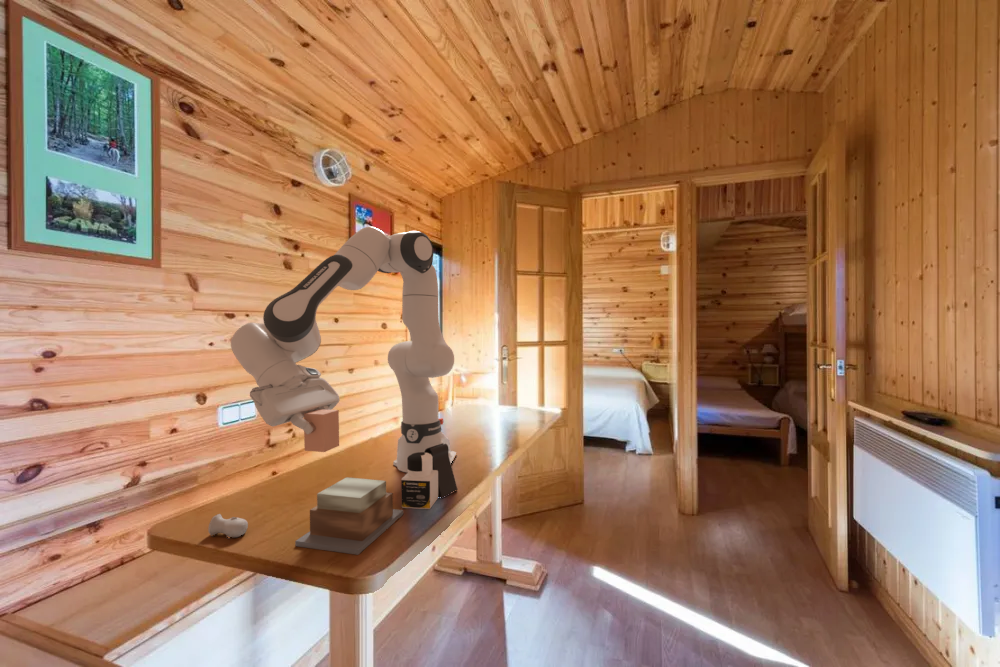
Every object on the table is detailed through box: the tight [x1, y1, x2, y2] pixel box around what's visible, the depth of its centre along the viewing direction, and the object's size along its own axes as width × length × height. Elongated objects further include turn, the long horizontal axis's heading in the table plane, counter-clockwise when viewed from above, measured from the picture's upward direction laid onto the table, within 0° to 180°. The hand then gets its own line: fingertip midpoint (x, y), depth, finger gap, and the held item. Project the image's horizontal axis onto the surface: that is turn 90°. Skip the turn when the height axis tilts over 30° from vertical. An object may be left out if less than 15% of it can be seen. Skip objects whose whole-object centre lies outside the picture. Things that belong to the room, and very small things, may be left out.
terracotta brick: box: [303, 409, 340, 453], centre depth 93 cm, size 5×5×8 cm
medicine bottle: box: [400, 452, 439, 510], centre depth 104 cm, size 7×7×12 cm
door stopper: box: [425, 443, 458, 499], centre depth 111 cm, size 9×6×12 cm, turn 54°
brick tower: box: [309, 476, 394, 541], centre depth 91 cm, size 12×12×8 cm
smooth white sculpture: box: [207, 513, 249, 538], centre depth 89 cm, size 4×8×5 cm
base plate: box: [295, 508, 404, 555], centre depth 91 cm, size 18×14×1 cm
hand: (322, 428), depth 93 cm, fingers closed on terracotta brick, 5 cm apart
